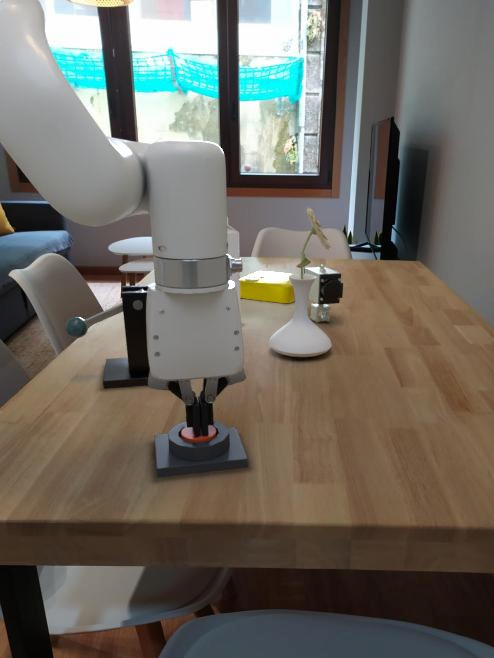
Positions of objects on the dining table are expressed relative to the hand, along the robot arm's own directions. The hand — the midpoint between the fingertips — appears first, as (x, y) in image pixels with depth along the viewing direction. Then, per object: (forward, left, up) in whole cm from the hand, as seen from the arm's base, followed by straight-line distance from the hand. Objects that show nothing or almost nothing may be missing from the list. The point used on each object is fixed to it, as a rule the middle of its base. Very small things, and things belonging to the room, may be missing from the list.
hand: (200, 430), depth 63 cm
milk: (+10, +54, -3) cm, 55 cm away
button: (0, 0, -2) cm, 2 cm away
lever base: (-6, +28, -3) cm, 29 cm away
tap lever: (-10, +28, +5) cm, 30 cm away
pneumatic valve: (+32, +53, -3) cm, 62 cm away
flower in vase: (+22, +34, -3) cm, 41 cm away
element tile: (+27, +78, -3) cm, 83 cm away
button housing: (0, 0, -3) cm, 3 cm away
